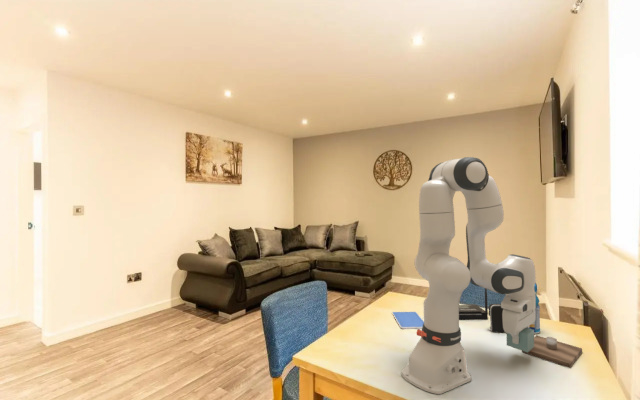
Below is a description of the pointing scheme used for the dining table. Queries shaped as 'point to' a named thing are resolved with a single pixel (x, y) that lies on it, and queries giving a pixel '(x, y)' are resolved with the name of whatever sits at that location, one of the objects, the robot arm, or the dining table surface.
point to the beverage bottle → (536, 324)
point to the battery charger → (496, 317)
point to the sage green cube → (523, 340)
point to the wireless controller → (474, 311)
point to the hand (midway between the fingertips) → (520, 340)
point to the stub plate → (555, 351)
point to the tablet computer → (408, 320)
